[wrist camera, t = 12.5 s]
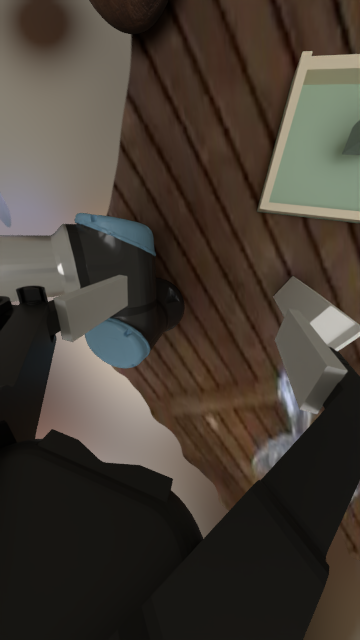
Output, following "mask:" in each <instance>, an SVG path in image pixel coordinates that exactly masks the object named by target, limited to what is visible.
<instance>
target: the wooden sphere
mask: <svg viewBox="0 0 360 640" xmlns="http://www.w3.org/2000/svg"><path fill="white" fill-rule="evenodd" d="M89 1H90V2H91V4H92V5H93V7H94V8H95V9H96V11H97V12H98V13H99V14H100V15H101V16H102V18H103V19H105V21H107V22H108V23H109V24H110V25H111V26H113V27H114V28H116V29H117V30H119V31H121V32H124V33H128V34H138V33H142V32H144V31H146V30H148V29H149V28H151V27H152V26H153V25H154V24H155V23H156V22H157V20H158V19H159V18H160V16H161V15H162V13H163V11H164V9H165V7H166V5H167V3H168V0H89Z"/></svg>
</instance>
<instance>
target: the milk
mask: <svg viewBox="0 0 360 640" xmlns="http://www.w3.org/2000/svg"><path fill="white" fill-rule="evenodd" d="M273 298H274V300H275V302H276V303H277V305H278V307H279V309H280V311H281V312H282V314H283V316H284V317H285V315H286V313H287V310H288V309H293V310H298V311H300V312H301V313H302V315H303V316H304V317H305V318H306V319H307V321H308V322H309V323H310V324H311V326H312V327H313V328H314V329H315V331H316V332H317V333H318V334H319V336H320V337H321V338H322V339H323V341H324V342H325V343H326V344H327V346H328V347H332V348H333V349H335V350H336V351H339V350H340V349H342V348H343V347H345V346H346V345H347V344H349V343H350V342H352V341H353V340H355V339H356V338H358V337H359V336H360V325H359V324H358V323H357V322H355V321H354V320H353V319H351V318H350V317H349V316H347V315H346V314H345V313H343V312H342V311H341V310H339V309H338V308H337V307H335V306H334V305H333V304H331V303H330V302H329V301H327V300H326V299H325V298H323V297H322V296H321V295H319V294H318V293H317V292H315V291H314V290H313V289H311V288H310V287H308V286H307V285H305V284H304V283H303V282H301V281H300V280H298V279H297V278H295V277H294V276H292V277H291V278H290V279H289V280H288V281H287V283H286V284H285V285H284V286H283V287H282V288H281V289H280V290H279V291H278V292H277V293H276V294H275V295H274V296H273Z"/></svg>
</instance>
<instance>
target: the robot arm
mask: <svg viewBox="0 0 360 640" xmlns="http://www.w3.org/2000/svg"><path fill="white" fill-rule="evenodd" d="M75 223H77V224H62V225H61V226H60V227H59V229H58V230H57V231H56V232H55V233H54V234H53V235H51V236H4V235H3V236H2V235H0V640H303V638H304V636H305V632H306V631H307V628H308V626H309V623H310V621H311V619H312V616H313V614H314V611H315V609H316V607H317V604H318V602H319V599H320V597H321V594H322V592H323V589H324V587H325V584H326V581H327V578H328V575H329V565H328V564H327V562H326V561H325V560H326V554H327V552H328V549H329V547H330V545H331V542H332V540H333V538H334V536H335V534H336V532H337V529H338V527H339V525H340V523H341V521H342V518H343V516H344V514H345V512H346V510H347V507H348V505H349V503H350V501H351V499H352V496H353V494H354V492H355V490H356V487H357V485H358V483H359V481H360V376H359V375H358V374H357V373H356V372H355V370H354V369H353V368H352V367H351V366H349V363H348V362H347V361H346V360H345V359H344V358H343V356H342V355H341V354H340V353H339V352H337V351H336V350H335V349H333V348H332V347H328V346H327V344H326V343H325V342H324V341H323V339H322V338H321V337H320V336H319V334H318V333H317V332H316V331H315V329H314V328H313V327H312V326H311V324H310V323H309V322H308V321H307V319H306V318H305V317H304V316H303V315H302V313H301V312H300V311H298V310H293V309H288V310H287V313H286V315H285V317H284V320H283V322H282V325H281V327H280V329H279V332H278V334H277V336H276V339H275V341H276V344H277V347H278V350H279V353H280V355H281V358H282V361H283V364H284V367H285V369H286V372H287V375H288V378H289V381H290V383H291V386H292V389H293V392H294V395H295V398H296V400H297V403H298V406H299V409H301V410H304V411H308V412H311V413H314V414H317V413H318V412H319V410H320V409H321V408H322V406H324V408H325V410H324V411H323V412H322V413H321V414H320V416H319V417H318V418H317V419H316V420H315V421H314V422H313V423H312V424H311V425H310V427H309V428H308V429H307V430H306V431H305V432H304V433H303V434H302V435H301V436H300V438H299V439H298V440H297V441H296V442H295V443H294V444H293V445H292V446H291V448H290V449H289V450H288V451H287V452H286V453H285V454H284V455H283V456H282V457H281V459H280V460H279V461H278V462H277V463H276V464H275V465H274V466H273V467H272V468H271V470H270V471H269V472H268V473H267V474H266V475H265V476H264V477H263V478H262V479H261V480H258V481H257V482H256V483H255V484H254V485H253V486H252V487H251V488H250V489H249V490H248V491H247V492H246V493H245V495H244V496H243V497H242V498H241V499H240V500H239V501H238V502H237V503H236V504H235V505H234V507H233V508H232V509H231V510H230V511H229V512H228V513H227V514H226V515H225V516H224V517H223V519H222V520H221V521H220V522H219V523H218V524H217V525H216V526H215V527H214V528H213V529H212V530H211V531H210V533H209V534H208V535H207V536H206V537H205V538H204V539H203V537H202V535H201V532H200V530H199V527H198V525H197V524H196V522H195V520H194V518H193V516H192V514H191V513H190V511H189V510H188V509H187V507H186V506H185V504H184V503H183V502H182V501H181V500H180V498H179V497H178V496H177V495H175V494H174V493H173V492H172V491H171V486H172V481H173V479H172V478H169V477H167V476H165V475H162V474H160V473H157V472H155V471H152V470H150V469H148V468H145V467H143V466H140V465H129V464H116V463H105V462H102V461H100V460H99V459H98V458H97V457H96V456H95V455H94V454H93V453H92V452H91V451H90V450H89V449H87V448H86V447H85V446H84V445H83V444H82V443H81V442H80V441H79V440H77V439H74V438H73V437H70V436H68V435H65V434H63V433H60V432H58V431H56V430H53V429H52V430H51V431H50V432H49V433H48V434H47V435H46V436H45V437H44V438H43V439H35V435H36V429H37V426H38V421H39V417H40V412H41V407H42V402H43V398H44V394H45V389H46V385H47V380H48V375H49V371H50V366H51V362H52V357H53V353H54V348H55V343H56V335H55V334H56V333H57V332H59V331H61V336H62V339H64V340H67V341H70V342H73V341H75V340H76V339H78V338H79V337H81V336H82V335H84V334H85V338H86V341H87V344H88V346H89V347H90V349H91V350H92V351H93V352H94V354H95V355H97V356H98V357H99V358H101V359H102V360H103V361H104V362H106V363H108V364H110V365H112V366H115V367H119V368H131V367H134V366H136V365H138V364H139V363H141V362H142V360H143V359H144V358H145V357H147V356H148V355H149V352H150V351H151V349H152V348H153V346H154V345H155V344H156V342H157V341H158V339H159V338H160V337H161V335H162V334H163V333H164V332H165V331H168V330H170V329H172V328H174V327H175V326H176V325H177V324H178V323H179V321H180V320H181V318H182V316H183V314H184V300H183V297H182V295H181V293H180V292H179V290H178V289H177V288H176V287H175V286H174V285H173V284H172V283H170V282H168V281H166V280H164V279H159V278H156V269H155V256H156V253H155V250H154V239H153V233H152V231H151V230H150V228H149V227H147V226H146V225H144V224H141V223H138V222H134V221H130V220H125V219H120V218H115V217H109V216H102V215H91V214H86V213H79V214H77V215H76V218H75ZM54 296H59V297H56V298H54V300H52V301H49V302H48V300H47V297H54ZM13 301H19V302H20V304H19V305H12V304H11V302H13Z"/></svg>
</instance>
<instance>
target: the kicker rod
mask: <svg viewBox="0 0 360 640" xmlns="http://www.w3.org/2000/svg"><path fill="white" fill-rule="evenodd" d="M342 155H360V120H359V121H358V122H357V123H356V124H355V125H354V126H353V128H352V130H351V133H350V135H349V138H348V140H347V143H346V145H345V148H344V150H343V152H342Z"/></svg>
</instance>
